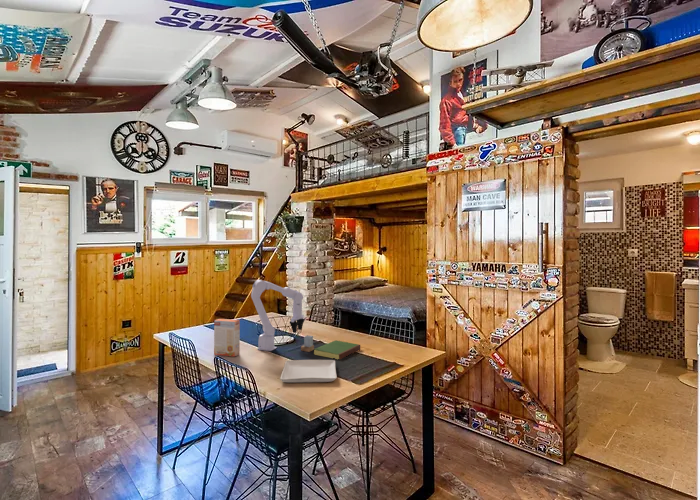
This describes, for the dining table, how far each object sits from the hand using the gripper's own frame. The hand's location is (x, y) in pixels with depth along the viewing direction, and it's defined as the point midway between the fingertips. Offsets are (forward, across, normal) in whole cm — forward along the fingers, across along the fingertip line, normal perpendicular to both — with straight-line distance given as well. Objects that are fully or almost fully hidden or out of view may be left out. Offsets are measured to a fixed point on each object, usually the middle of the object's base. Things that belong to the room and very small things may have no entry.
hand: (297, 331), depth 246 cm
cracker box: (+10, -31, +31) cm, 45 cm away
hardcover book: (+11, -2, -29) cm, 31 cm away
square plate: (+10, -44, -29) cm, 54 cm away
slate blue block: (+7, -5, -10) cm, 14 cm away
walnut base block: (+10, -5, -10) cm, 15 cm away
